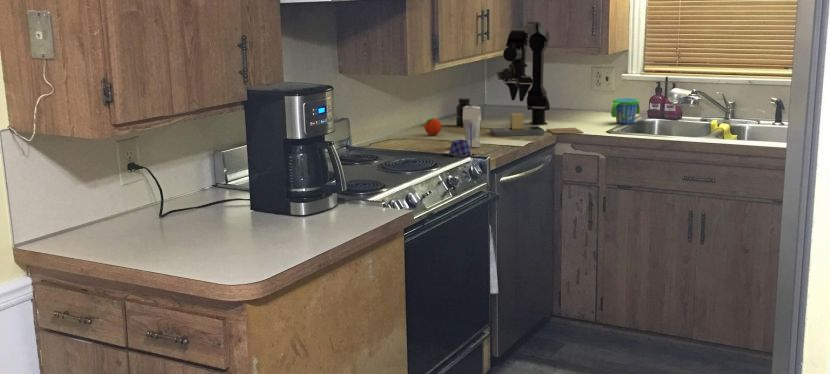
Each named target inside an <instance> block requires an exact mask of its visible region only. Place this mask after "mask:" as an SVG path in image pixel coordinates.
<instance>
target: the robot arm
mask: <svg viewBox="0 0 830 374" xmlns="http://www.w3.org/2000/svg"><path fill="white" fill-rule="evenodd" d="M549 41H550V34H549V31H548V29H547V28H545V27H544V26H542V25H541V23H540V22H539V21H529V22H527V23H526V25H525V24H524V26H522V27H521V28H519V29H517V28H515V29H511V30H510V32H509V33H508V36H507V41H506V44H505V47H506V48H505V49H504V50H503V53H502V55H503V59H504V60H505V61H506V62H510V63H509V64H508V67H505V68H503V69H502V70H499V71H496V74H497V78H498V80H499V81H502V82H503V83H504V85H506V86H507V87H508V90H509V94H510V98H511V101H515V100H516V97H517V94H518V95H519V102H524V100H525V97H526V95H527V97H526V106H527V111H531V121H529V124H531V125H532V126H539V125H540V126H542V125H548V122H546V111H550V108H551V103H550V101H549V97H548V96H547V95H548V94H547V91H546V89H545V86H544V65H545V64H544V62H545V61H544V60H545V57H544V55H545V53H544V52H545V50H546V49H547V48H548V47H549ZM527 46H528V47H529V48H530V50H531V51H532V67H531V68H532V71H531V73H532V74H531V75H527V74H526V68H528V64H526V58H527V56H526V55H527Z"/></svg>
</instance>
